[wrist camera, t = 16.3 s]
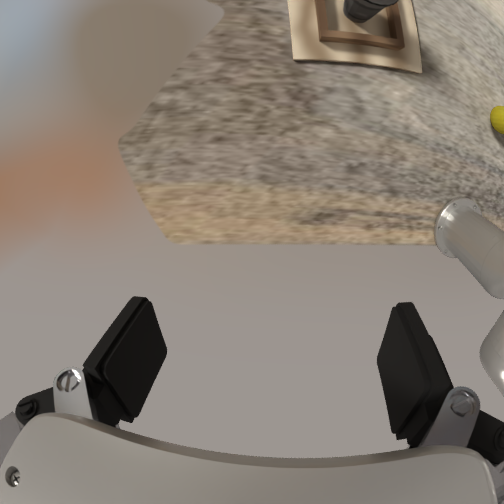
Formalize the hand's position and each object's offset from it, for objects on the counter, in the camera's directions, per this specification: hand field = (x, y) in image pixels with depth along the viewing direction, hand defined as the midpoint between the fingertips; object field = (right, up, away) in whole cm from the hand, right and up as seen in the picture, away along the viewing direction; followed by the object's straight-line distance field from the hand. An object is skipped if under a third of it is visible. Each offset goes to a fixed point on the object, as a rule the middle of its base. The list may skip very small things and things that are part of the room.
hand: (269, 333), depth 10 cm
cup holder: (+16, +42, +20) cm, 49 cm away
